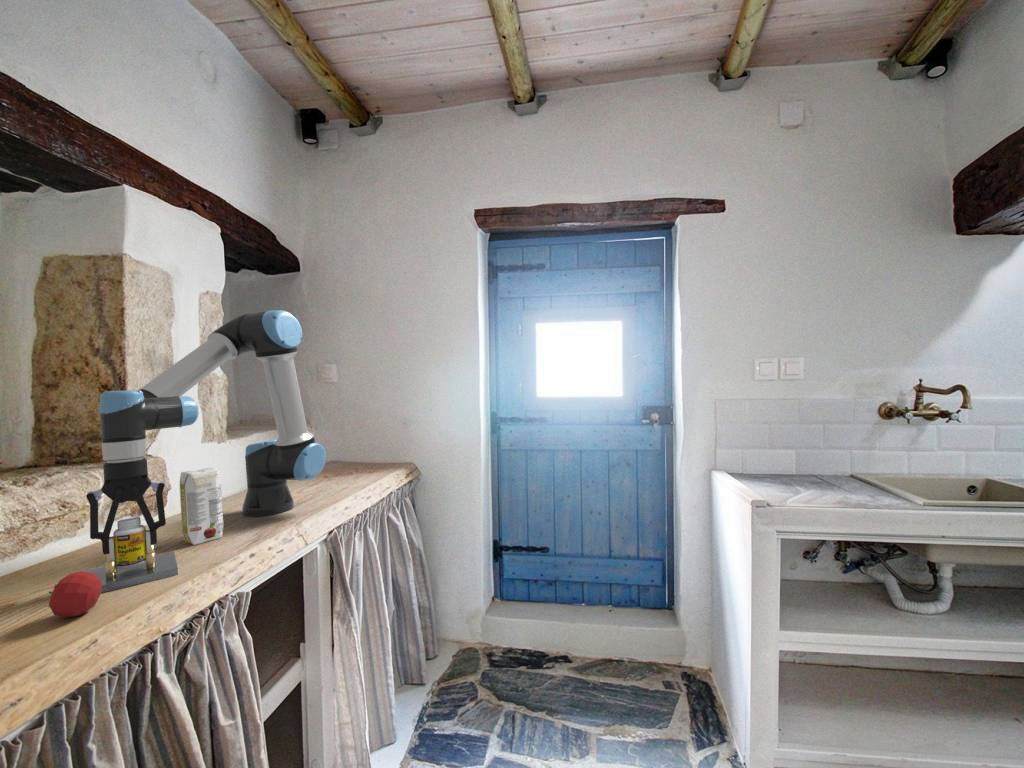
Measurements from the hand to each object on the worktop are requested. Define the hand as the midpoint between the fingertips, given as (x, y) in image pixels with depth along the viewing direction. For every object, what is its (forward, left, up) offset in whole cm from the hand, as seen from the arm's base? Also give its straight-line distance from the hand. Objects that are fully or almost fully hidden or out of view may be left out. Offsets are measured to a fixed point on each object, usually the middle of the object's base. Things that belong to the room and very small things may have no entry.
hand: (131, 563), depth 104 cm
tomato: (+8, +16, -3) cm, 18 cm away
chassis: (0, 0, -3) cm, 3 cm away
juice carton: (-15, -18, -3) cm, 24 cm away
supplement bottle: (0, 0, -1) cm, 1 cm away
